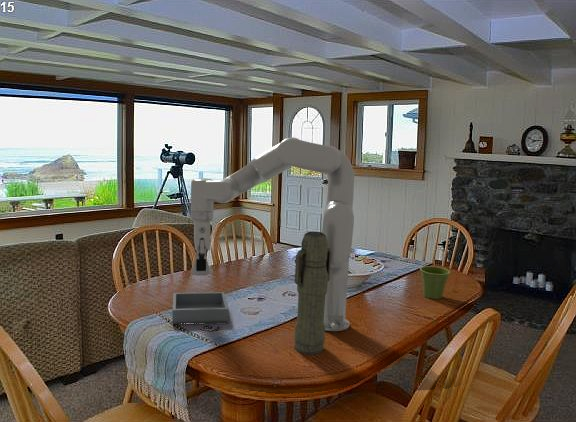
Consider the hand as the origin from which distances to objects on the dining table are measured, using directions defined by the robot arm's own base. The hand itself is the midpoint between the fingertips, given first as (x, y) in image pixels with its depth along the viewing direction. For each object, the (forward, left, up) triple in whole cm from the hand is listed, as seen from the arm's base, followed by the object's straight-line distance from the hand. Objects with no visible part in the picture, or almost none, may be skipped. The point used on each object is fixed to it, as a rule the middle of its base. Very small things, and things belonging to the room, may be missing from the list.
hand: (200, 268), depth 177 cm
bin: (0, 0, -16) cm, 16 cm away
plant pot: (+14, -94, -17) cm, 96 cm away
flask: (0, 0, -2) cm, 2 cm away
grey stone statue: (-31, -31, -17) cm, 47 cm away
